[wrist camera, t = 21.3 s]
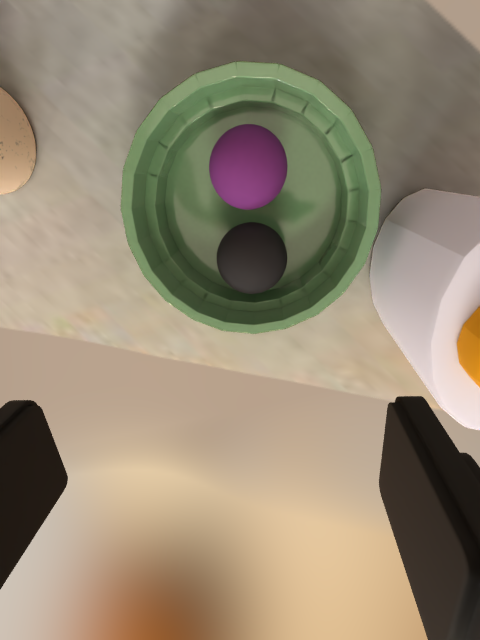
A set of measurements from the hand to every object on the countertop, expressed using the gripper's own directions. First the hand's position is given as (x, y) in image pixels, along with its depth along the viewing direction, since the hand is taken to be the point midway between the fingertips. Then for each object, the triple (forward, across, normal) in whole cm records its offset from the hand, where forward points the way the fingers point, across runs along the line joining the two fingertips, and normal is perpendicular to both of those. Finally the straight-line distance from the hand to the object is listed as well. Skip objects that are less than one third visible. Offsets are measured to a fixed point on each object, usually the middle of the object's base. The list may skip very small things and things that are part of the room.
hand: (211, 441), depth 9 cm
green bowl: (+23, 0, -4) cm, 24 cm away
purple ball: (+23, 0, -7) cm, 24 cm away
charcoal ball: (+23, 0, 0) cm, 23 cm away
